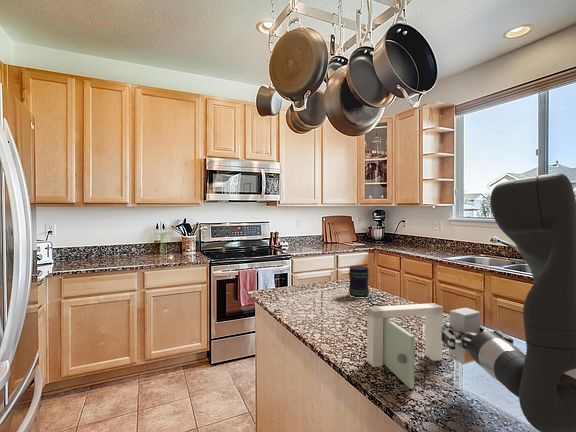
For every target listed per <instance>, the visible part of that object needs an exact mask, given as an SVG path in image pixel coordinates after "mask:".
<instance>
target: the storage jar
mask: <svg viewBox="0 0 576 432" xmlns="http://www.w3.org/2000/svg"><path fill="white" fill-rule="evenodd" d="M369 268H370V267H368V266H363V265H352V266H349V272H348V275H349V276H348V277H349V287H348V293H349V294H350V295H351V296H354V297H368V298H369V292H370V291H369V278H370V277H369V276H370V273H369V270H370V269H369Z"/></svg>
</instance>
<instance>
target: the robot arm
mask: <svg viewBox="0 0 576 432" xmlns="http://www.w3.org/2000/svg"><path fill="white" fill-rule="evenodd" d="M574 191H575V190H574V187H573V185H572V182H571V180H570V179H569V178H568V176H567V175H565V174H564V173H559V172H555V173H549V174H542V175H535V176H528V177H521V178H516V179H515V178H514V179H510V180H506V181H503V182H501V183H498V184H496V185H495V187H494V188H492V191H491V194H490V196H489V197H490V199H489V200H490V201H489V204H490V209H491V213H492V216H493V219H494V220H495V223H496V224H497V226H498V227H499V228H500V230H501V232H503V233H504V234H505V235H506V236H507V238H509V239H510V240H511V241H512V242H513V243H514V244H515V246H516V248H517V250H518V252H519V254H520V256H521V257H522V259H523V260H524V261H525V263H526V264H527V266H528V267H529V269H530V271H531V276H532V278H533V282H534V283H533V285H532V286H531V287H530V289H529V291H528V293H527V295H526V297H525V300H524V303H523V308H522V317H523V318H522V319H523V327H524V334H525V337H524V338H525V344H526V350H525V351H526V352H525V353H524V352H523V351H521V349H520V348H518V347H517V346H516V345H514V338H512V337H511V336H509V335H507V334H506V333H504V332H503V331H501V330H500V329H493V330H492V331H491V329H490V328H486V327H484V326H482V325H481V324H480V333H476V334H475V333H472V332H471V333H469V332H466V331H463V330H454V329H453V328H452V327H450V324H448V323H443V329H441V332H442V337H441V340H442V341H443V344H445V346H446V347H447V348H448V350H449V349H452V350H455V346H461V347H462V348H464V349H466V350H468V351H469V353H470V355H471V357H472V358H473V359H474V361H473V362H475V363H476V364H478V366H480V367H481V368H482V369H483V370H484V371H485V372H486V373H487V374H489V375H490V376H491V377H492V378H493V379H495V380H496V381H498V382H499V383H500V384H502V386H504V387H505V388H506V389H507V390H508V391H510V393H511V394H513V395H514V396H516V397H517V398H518V400H519V401H518V402H519V405H520V408H521V412H522V413H523V414H522V415H523V416H524V417H525V419H526V421H527V422H528V424H529V425H531V426H532V427H533V428H534V429H535V430H537V431H539V432H576V195H575V192H574ZM454 333H455V334H456V338H455V336H454ZM462 334H463V335H464V336H463V338H462Z"/></svg>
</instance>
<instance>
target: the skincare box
mask: <svg viewBox="0 0 576 432" xmlns="http://www.w3.org/2000/svg"><path fill="white" fill-rule="evenodd" d="M480 325H481V311H478V310H475V309H471V308H468V307H461V308H456V309H452V310H449V326H450V327H452V328H453V329H454V330H463V331H466V332H469V333H471V332H472V333H475V334H476V333H480ZM454 336H455V338H456V334H455V333H454ZM463 336H464V335H463V334H462V338H463ZM448 357H449V358H450V359H451V360H453V361H455V362H456V363H457V362H458V363H460V364H461V365H466V364H469V363H472V362H475V361H474V359H473V358H472V357H471V355H470V353H469V351H468V350H466V349H464V348H462V347H461V346H455V350H452V349H449V348H448Z"/></svg>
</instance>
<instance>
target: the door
mask: <svg viewBox="0 0 576 432" xmlns="http://www.w3.org/2000/svg"><path fill="white" fill-rule="evenodd" d="M415 338H416V337H415V335H413V333H411V332H409V331H408V330H406V329H405V328H403V327H401V326H400V325H398V324H397V323H396V322H394V321H392V320H391V319H389V317H387V318H383V365H384V366H385V367H386V368H387V369H389V370H390V371H391V373H393V374H394V375H395V376H396V377H397V378H398V379H399V380H400V381H401V382H402V383H403V384H404V385H406V387H407V388H408V389H414V388H415V350H416V349H415V346H416V345H415V343H416V342H415V341H416V340H415Z"/></svg>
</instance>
